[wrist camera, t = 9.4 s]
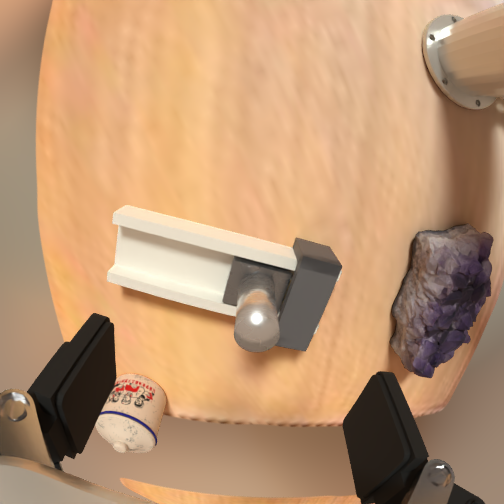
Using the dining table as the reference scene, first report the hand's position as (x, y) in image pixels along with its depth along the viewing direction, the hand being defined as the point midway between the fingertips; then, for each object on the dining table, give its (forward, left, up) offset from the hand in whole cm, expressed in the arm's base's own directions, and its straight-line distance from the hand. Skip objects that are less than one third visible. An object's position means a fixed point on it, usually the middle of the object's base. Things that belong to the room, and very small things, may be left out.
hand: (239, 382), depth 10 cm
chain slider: (-4, +6, -23) cm, 24 cm away
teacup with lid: (+11, +31, -25) cm, 41 cm away
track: (+2, +6, -24) cm, 25 cm away
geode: (-25, +3, -25) cm, 36 cm away
